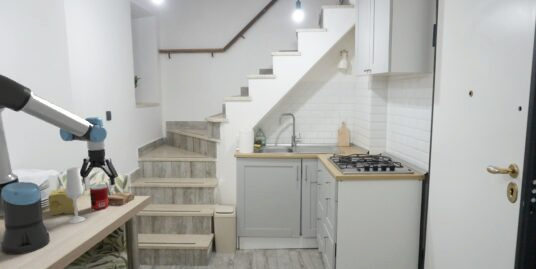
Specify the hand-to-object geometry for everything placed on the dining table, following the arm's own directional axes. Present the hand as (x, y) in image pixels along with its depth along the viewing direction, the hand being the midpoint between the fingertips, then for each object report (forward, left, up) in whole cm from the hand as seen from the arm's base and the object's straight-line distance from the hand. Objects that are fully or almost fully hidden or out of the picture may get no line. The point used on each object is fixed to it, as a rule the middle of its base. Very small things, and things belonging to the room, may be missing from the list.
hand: (99, 190), depth 172 cm
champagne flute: (-17, -1, -9) cm, 20 cm away
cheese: (-8, +14, -9) cm, 19 cm away
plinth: (+11, -4, -9) cm, 14 cm away
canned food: (0, 0, -9) cm, 9 cm away
